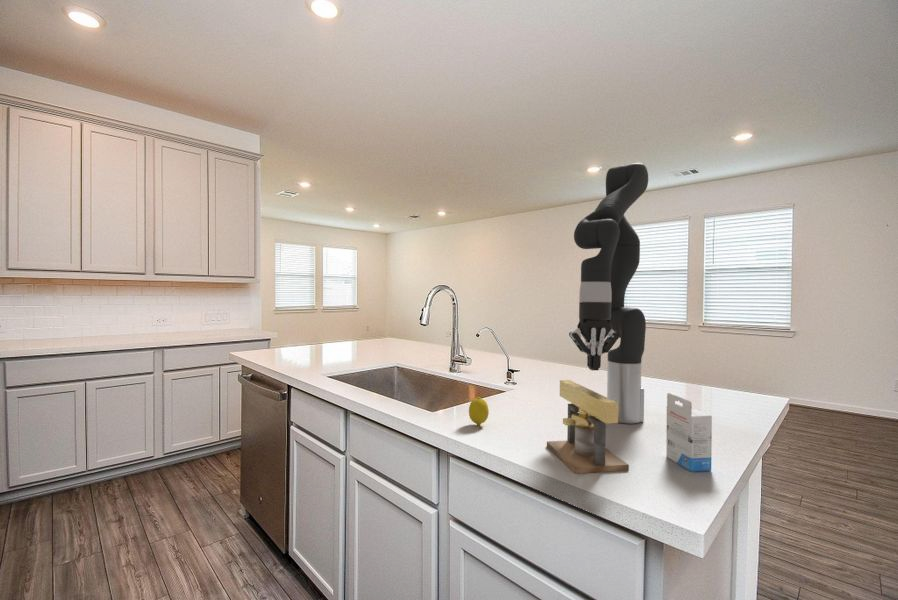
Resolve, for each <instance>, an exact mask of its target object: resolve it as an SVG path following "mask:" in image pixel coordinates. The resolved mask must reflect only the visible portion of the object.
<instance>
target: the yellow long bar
mask: <svg viewBox="0 0 898 600" xmlns="http://www.w3.org/2000/svg"><path fill="white" fill-rule="evenodd" d="M559 397H561V398H562V399H564V400H566V401H568V402H569V403H570V404H574V405H576V406H577V407H579V412H578V413H574V414H572V416H571V418H568V417H566V418H565V417H564V418H562V424H563V425H564V426H568V425H573V426H575V427H579V428H584V429H594V424H592V423H591V422H589V421H588V416H594V417H596V418H598V419H599V420H601V421H603V422H604V423H606V424H618V423H619V422H618V403H617V402H615V401H613V400H611V399H609V398H607V396H604V395H602V394H600V393H598V392H596V391H595V390H592V389H589V388H588V387H587V386H586V387H585V386H584V385H582V384H579V383H577V382H576V381H573V380H571V379H559Z"/></svg>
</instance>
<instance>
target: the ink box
mask: <svg viewBox="0 0 898 600" xmlns="http://www.w3.org/2000/svg"><path fill="white" fill-rule="evenodd" d="M676 402H679V403H681V404H677V403H676ZM692 406H693V404H692V401H690V400H688V399H686V398H683V397H681V396H678V395H676V394H672V393H669V392H668V393H666V447H665V448H666V451H665V452H666V458H668V459H670V460H671V461H673V462H674V463H676V464H678V465H679V466H681V467H682V468H684V469H686V470H687V471H689V472H708V471H709V472H711V471H712V453H713V451H712V444H713V443H712V442H713V441H712V439H713V438H712V437H713V436H712V435H713V434H712V433H713V432H712V429H713V427H712V426H713V421H712V419H713V416H712V415H710V414H708V413H705V412H703V411H700V410H697V409H696V408H693V407H692Z"/></svg>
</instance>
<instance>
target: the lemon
mask: <svg viewBox="0 0 898 600" xmlns="http://www.w3.org/2000/svg"><path fill="white" fill-rule="evenodd" d="M489 412H490V411H489V405H488V403H487V402H486V400H485V399H483V398H481V397H480V396H478V397H476V398H474V399H473V400H472V401H470V403H469V407H468V415H469V419H470V420H471V422H473V423H475V424H476V425H477V426H481V425H482V424H484V423H485V422H486V421H487V420H488V417H489V414H490V413H489Z"/></svg>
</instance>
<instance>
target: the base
mask: <svg viewBox="0 0 898 600" xmlns="http://www.w3.org/2000/svg"><path fill="white" fill-rule="evenodd" d="M574 413H579V407H577V406H576V405H574V404H572V403H567V418H571V416H572V414H574ZM588 421H589V422H591V423H592V424H594V429H584V428H579V427H575V426H573V425H567V437H566V438H567V440H552V441H548V440H547V441H546V447H547V448H548V450H550V451H551V452H552V453H553V454H554V455H555V456H556V457H557V458H558V460H560V461H561V462H562V463H563V464H564V465H565V466H567V468H569V470H571V472H573V473H574V474H575V475H576V474H577V475H578V474H589V473H590V474H591V473H605V472H607V473H608V472H622V471H629V470H630V465H629V464H628V463H627V462H626V461H624V460H623V459H622V458H620V457H619V456H617V455H616V454H615V453H614V452H612V451H610V450H609V449H608V448H606V437H607V435H606V433H607V431H606V429H607V428H606V426H607V425H606V423H604V422H603V421H601V420H599V419H598V418H596V417H594V416H588Z"/></svg>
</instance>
